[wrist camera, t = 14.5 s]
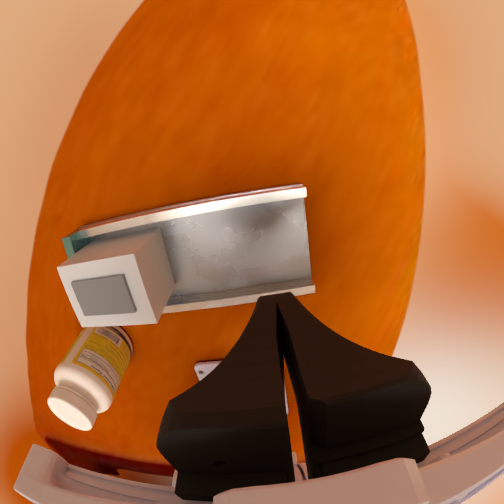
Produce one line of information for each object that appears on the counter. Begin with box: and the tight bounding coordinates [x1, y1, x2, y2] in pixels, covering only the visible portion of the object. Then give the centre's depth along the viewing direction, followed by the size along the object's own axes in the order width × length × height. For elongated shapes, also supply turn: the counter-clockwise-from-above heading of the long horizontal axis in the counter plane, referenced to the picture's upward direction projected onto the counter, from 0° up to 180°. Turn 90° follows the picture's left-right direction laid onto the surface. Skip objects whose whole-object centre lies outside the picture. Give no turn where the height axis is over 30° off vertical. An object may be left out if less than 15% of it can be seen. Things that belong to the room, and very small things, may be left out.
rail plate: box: [62, 183, 315, 313], centre depth 19 cm, size 17×8×3 cm, turn 99°
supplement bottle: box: [48, 326, 133, 431], centre depth 19 cm, size 5×5×10 cm
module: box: [57, 228, 175, 327], centre depth 17 cm, size 4×6×5 cm
